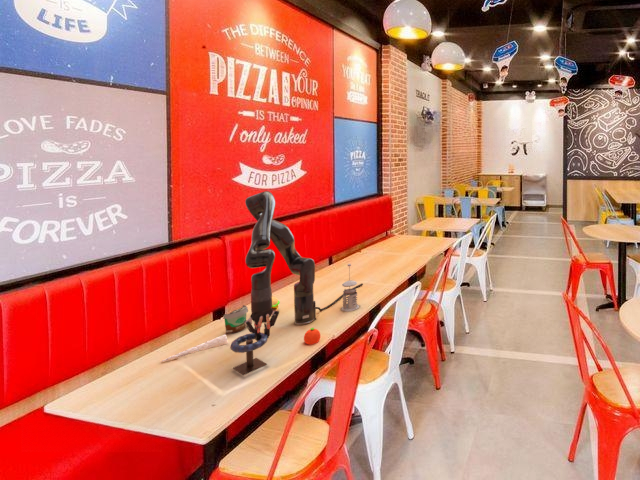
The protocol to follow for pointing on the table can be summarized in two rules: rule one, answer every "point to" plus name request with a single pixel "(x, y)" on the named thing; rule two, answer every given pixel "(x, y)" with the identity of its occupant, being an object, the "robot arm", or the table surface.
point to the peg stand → (249, 362)
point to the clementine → (312, 336)
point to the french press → (352, 295)
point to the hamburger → (275, 303)
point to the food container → (235, 320)
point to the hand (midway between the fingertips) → (262, 339)
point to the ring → (249, 347)
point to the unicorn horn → (200, 347)
